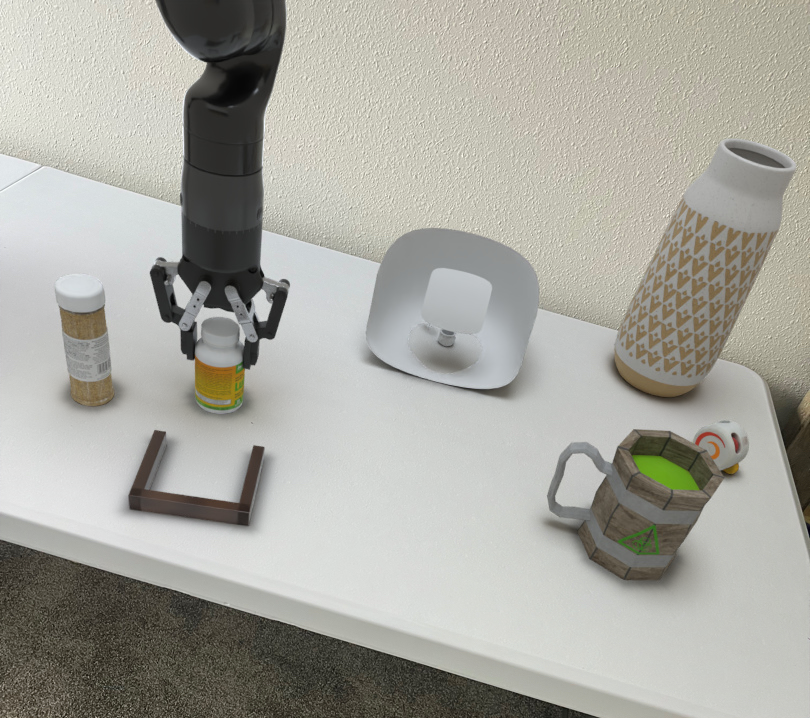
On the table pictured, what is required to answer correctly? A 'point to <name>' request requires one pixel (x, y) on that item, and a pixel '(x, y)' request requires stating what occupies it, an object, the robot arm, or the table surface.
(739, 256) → the vase
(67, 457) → the table surface
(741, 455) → the roller toy
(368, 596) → the table surface
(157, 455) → the frame
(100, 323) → the sprinkles bottle
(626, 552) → the mug
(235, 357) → the supplement bottle
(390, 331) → the rounded square lampshade
